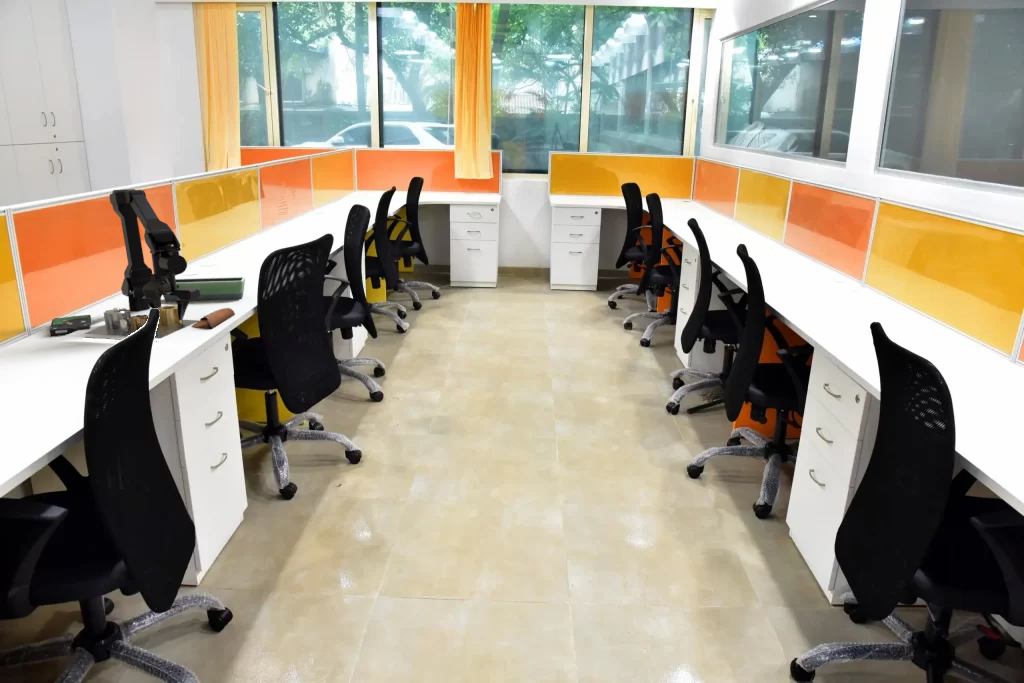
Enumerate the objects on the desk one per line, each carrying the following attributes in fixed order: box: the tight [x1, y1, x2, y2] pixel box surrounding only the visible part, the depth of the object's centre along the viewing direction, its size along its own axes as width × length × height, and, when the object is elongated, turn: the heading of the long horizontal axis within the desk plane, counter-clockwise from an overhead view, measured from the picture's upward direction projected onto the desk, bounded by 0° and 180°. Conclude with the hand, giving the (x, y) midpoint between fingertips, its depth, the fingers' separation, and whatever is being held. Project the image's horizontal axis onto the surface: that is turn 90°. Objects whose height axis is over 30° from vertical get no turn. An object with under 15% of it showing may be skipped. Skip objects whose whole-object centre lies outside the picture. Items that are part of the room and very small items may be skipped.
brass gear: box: [158, 304, 182, 325], centre depth 222 cm, size 7×7×4 cm
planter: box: [162, 276, 246, 303], centre depth 256 cm, size 28×7×7 cm, turn 103°
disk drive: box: [49, 314, 92, 338], centre depth 218 cm, size 10×3×15 cm
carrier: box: [84, 307, 199, 343], centre depth 216 cm, size 20×24×6 cm
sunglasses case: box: [191, 307, 236, 330], centre depth 224 cm, size 18×7×7 cm, turn 179°
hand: (170, 319), depth 223 cm, fingers closed on brass gear, 7 cm apart
